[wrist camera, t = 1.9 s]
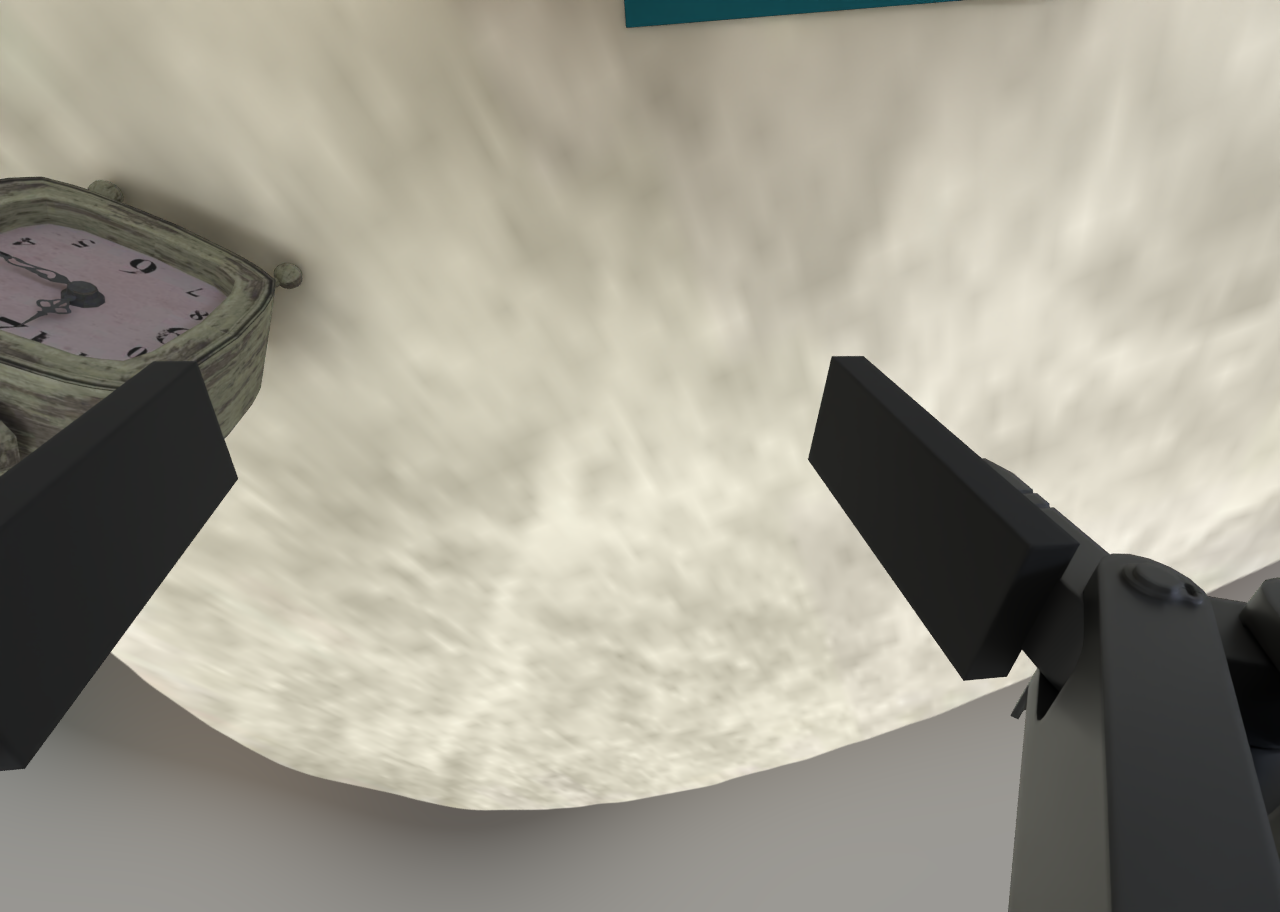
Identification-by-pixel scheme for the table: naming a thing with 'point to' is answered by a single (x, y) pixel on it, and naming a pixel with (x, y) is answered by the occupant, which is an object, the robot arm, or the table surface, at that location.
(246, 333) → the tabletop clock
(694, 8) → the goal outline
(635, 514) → the table surface
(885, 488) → the robot arm
